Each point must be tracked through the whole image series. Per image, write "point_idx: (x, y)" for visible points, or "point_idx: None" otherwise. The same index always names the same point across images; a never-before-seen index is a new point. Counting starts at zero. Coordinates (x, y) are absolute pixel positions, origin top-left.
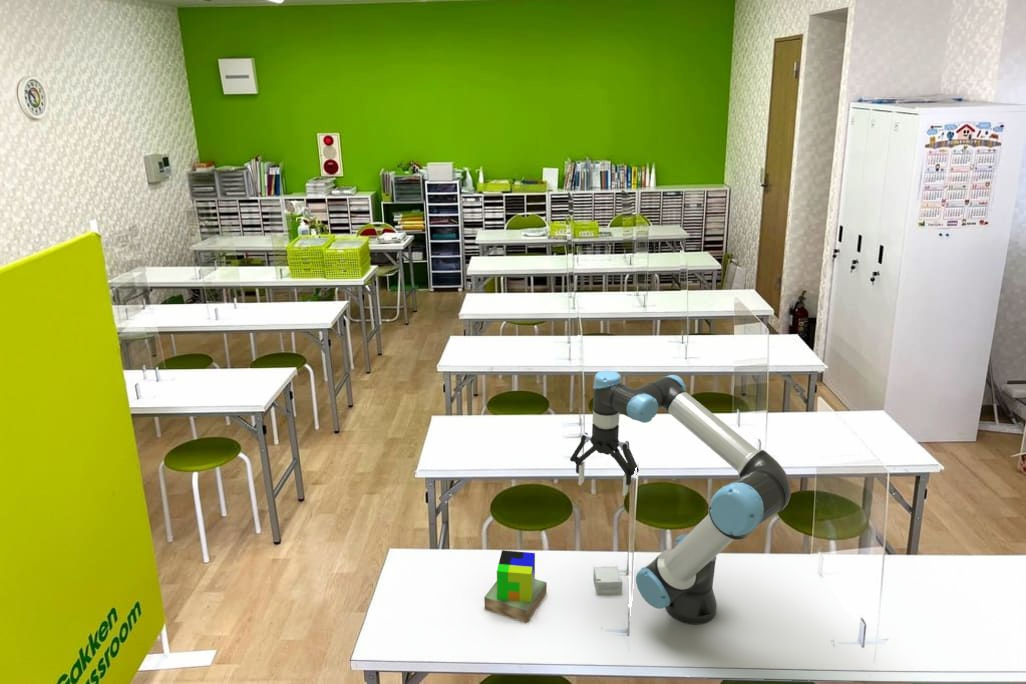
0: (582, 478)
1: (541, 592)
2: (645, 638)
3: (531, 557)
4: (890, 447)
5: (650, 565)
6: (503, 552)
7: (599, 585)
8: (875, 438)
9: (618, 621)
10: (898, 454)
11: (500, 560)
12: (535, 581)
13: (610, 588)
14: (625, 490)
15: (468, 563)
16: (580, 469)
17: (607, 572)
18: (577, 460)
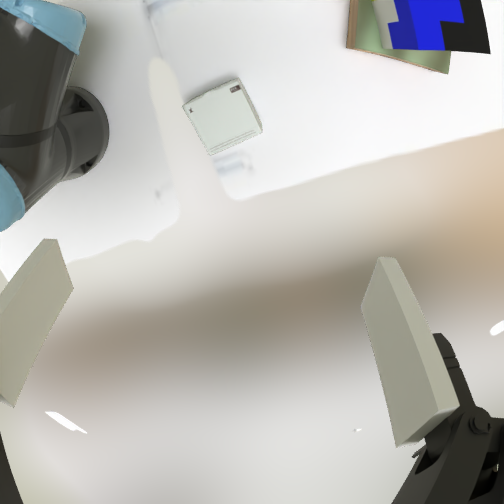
0: (380, 311)
1: (355, 20)
2: (111, 12)
3: (420, 28)
4: (72, 425)
5: (16, 37)
6: (485, 45)
7: (231, 81)
8: (86, 433)
9: (170, 24)
10: (63, 420)
11: (481, 12)
12: (380, 45)
13: (208, 91)
14: (25, 267)
15: (496, 113)
16: (434, 373)
17: (224, 123)
18: (486, 449)
